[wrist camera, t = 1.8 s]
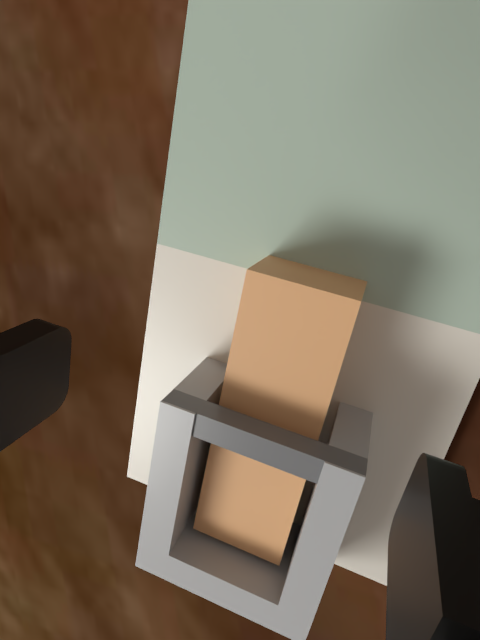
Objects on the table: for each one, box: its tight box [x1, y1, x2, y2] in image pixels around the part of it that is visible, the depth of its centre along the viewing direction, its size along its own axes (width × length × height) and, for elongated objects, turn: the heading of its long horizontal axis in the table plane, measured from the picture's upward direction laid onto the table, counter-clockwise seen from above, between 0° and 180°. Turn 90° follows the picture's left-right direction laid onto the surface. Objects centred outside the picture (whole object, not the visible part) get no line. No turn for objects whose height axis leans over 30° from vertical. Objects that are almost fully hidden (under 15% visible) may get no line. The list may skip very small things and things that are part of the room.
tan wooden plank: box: [193, 255, 367, 566], centre depth 19 cm, size 4×12×3 cm, turn 169°
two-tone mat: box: [127, 0, 480, 640], centre depth 17 cm, size 14×23×6 cm, turn 169°
